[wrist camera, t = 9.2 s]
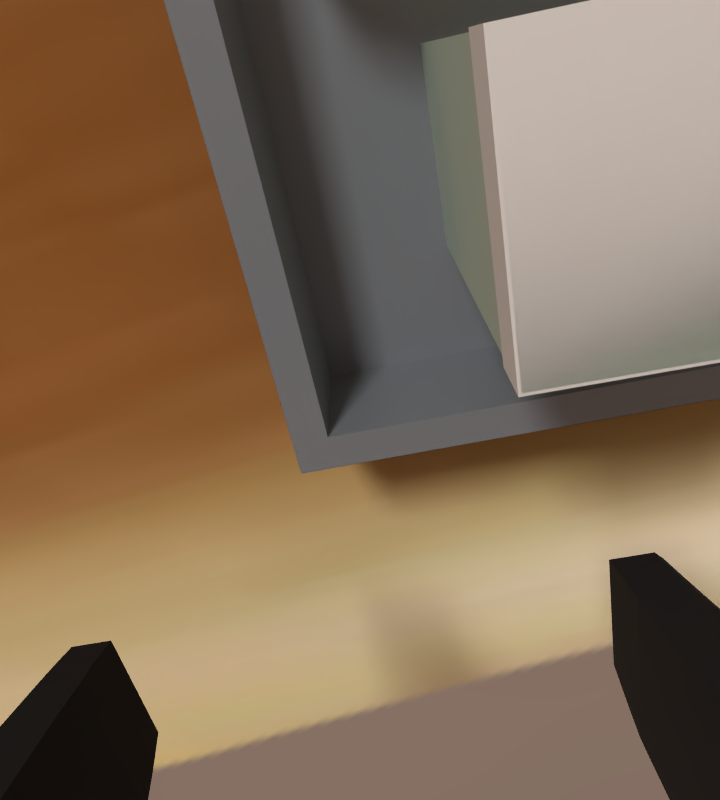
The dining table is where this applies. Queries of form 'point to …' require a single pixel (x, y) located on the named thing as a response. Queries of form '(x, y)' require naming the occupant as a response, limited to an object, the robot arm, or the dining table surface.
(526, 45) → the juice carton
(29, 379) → the dining table surface
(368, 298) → the tote
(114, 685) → the robot arm
